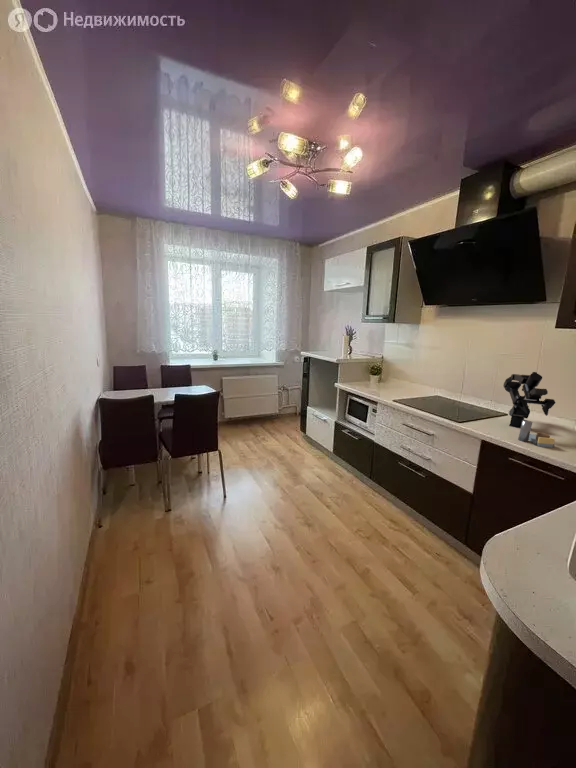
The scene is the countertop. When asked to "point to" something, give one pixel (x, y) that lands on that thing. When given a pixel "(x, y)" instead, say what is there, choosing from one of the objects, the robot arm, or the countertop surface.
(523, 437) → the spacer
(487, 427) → the countertop surface
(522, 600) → the countertop surface
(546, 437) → the collected block
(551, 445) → the cart
